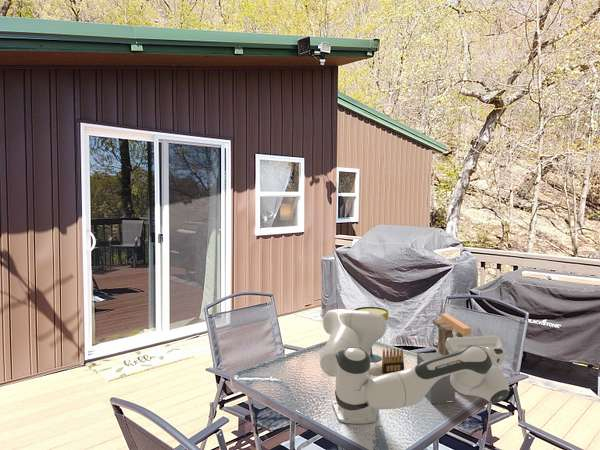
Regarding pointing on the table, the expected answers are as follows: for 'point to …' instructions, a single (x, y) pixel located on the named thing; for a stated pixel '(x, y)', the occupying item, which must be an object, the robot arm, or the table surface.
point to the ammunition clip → (392, 361)
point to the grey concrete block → (438, 383)
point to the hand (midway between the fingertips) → (466, 330)
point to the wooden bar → (456, 324)
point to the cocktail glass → (385, 314)
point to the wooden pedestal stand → (444, 335)
